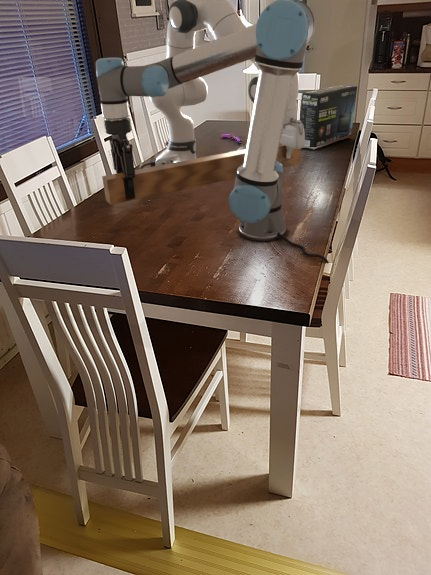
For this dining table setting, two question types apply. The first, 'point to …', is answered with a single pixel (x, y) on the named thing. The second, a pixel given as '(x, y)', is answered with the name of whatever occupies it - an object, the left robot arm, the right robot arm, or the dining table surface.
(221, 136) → the purple curved segmented piece
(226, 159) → the bar
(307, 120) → the router box
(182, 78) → the right robot arm
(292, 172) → the dining table surface
